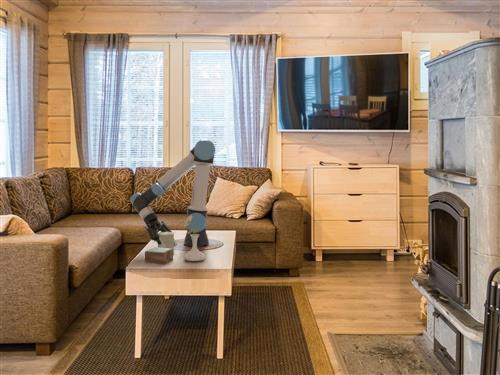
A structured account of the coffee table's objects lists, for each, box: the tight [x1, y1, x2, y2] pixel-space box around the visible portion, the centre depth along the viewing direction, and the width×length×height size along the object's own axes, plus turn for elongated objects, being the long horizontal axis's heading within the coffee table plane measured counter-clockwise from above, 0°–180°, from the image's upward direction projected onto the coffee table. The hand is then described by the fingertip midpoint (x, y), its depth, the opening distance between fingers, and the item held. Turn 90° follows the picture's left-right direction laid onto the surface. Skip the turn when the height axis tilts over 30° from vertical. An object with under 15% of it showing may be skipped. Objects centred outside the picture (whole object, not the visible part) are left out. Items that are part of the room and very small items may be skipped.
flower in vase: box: [182, 215, 206, 262], centre depth 265 cm, size 13×11×25 cm
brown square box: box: [144, 246, 174, 265], centre depth 264 cm, size 11×11×6 cm
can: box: [157, 231, 175, 255], centre depth 282 cm, size 9×9×12 cm
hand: (170, 247), depth 280 cm, fingers closed on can, 9 cm apart
